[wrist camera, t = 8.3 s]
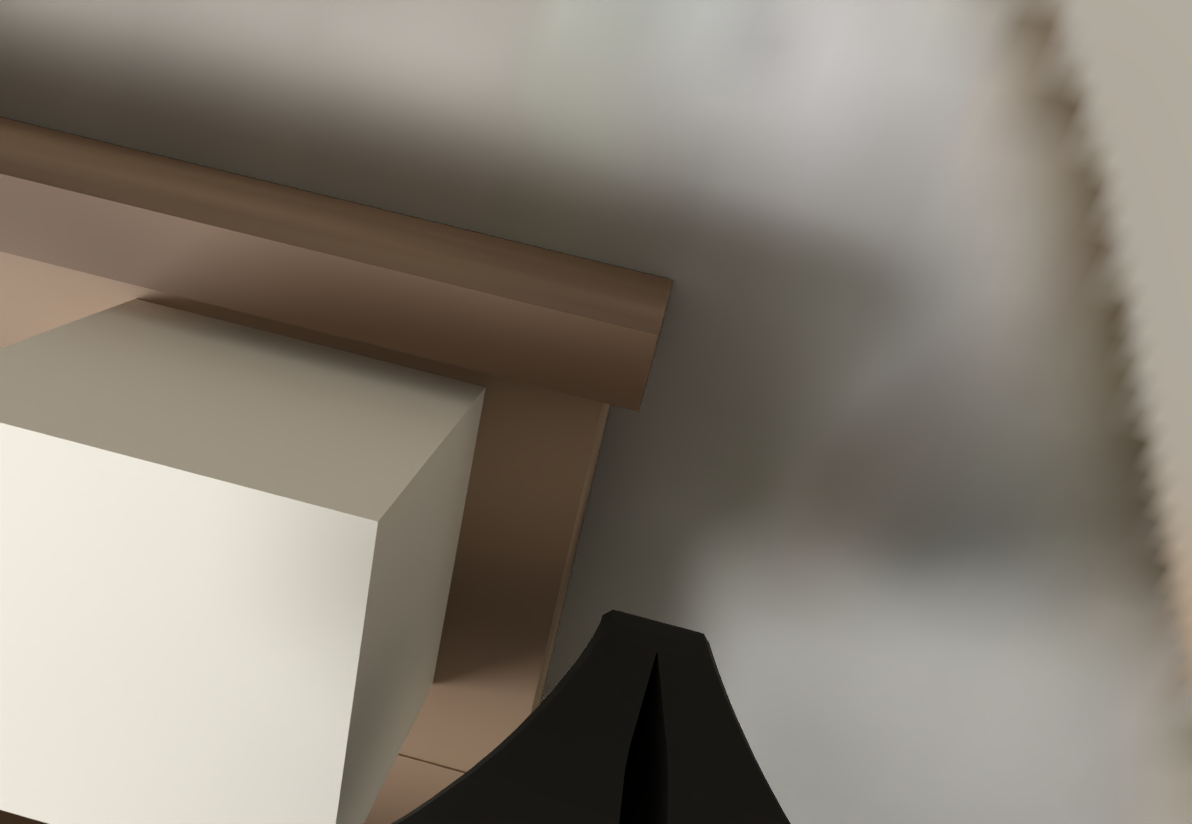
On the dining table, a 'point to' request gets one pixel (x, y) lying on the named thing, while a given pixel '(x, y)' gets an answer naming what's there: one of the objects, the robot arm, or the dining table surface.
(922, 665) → the dining table surface
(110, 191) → the trap box
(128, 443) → the block
